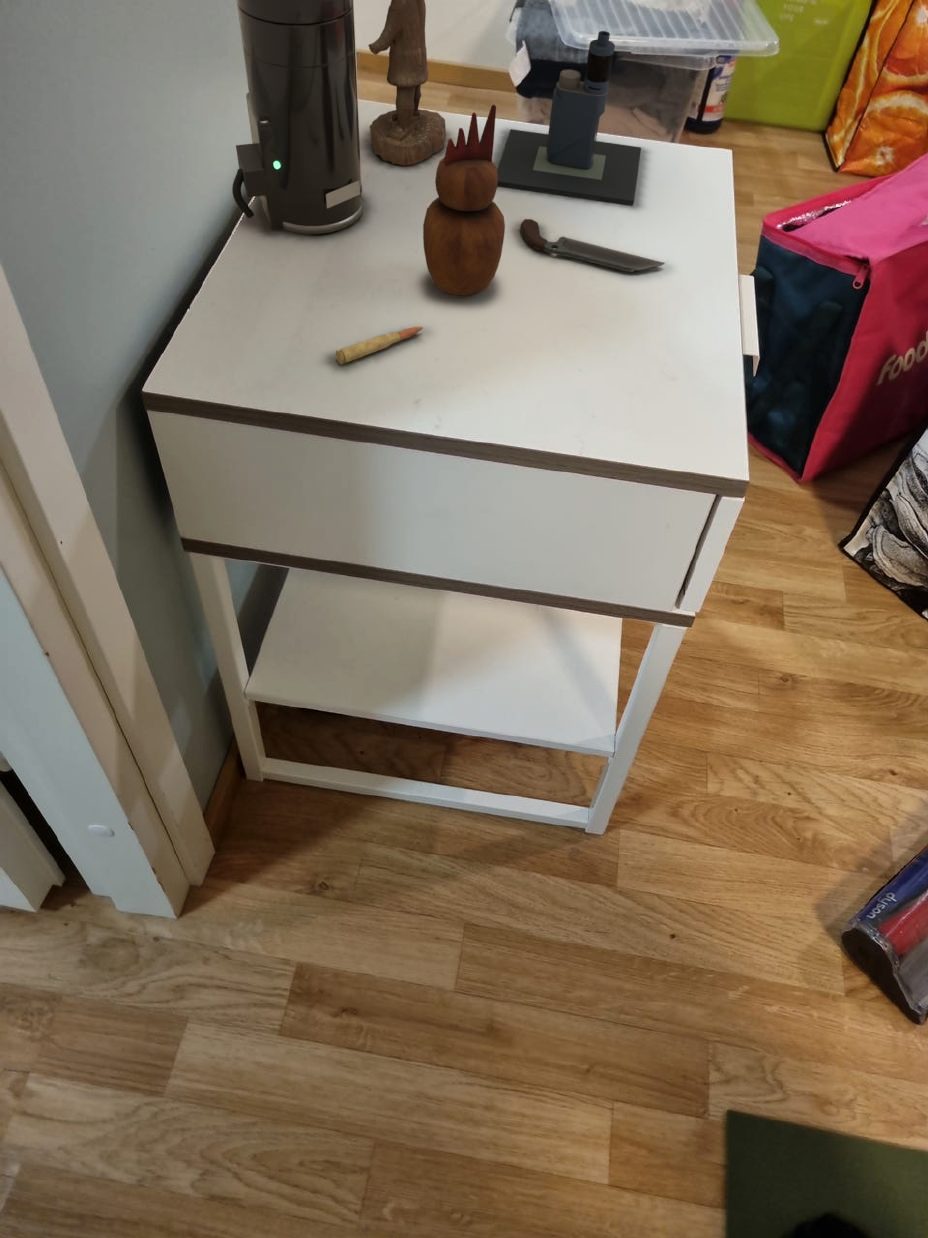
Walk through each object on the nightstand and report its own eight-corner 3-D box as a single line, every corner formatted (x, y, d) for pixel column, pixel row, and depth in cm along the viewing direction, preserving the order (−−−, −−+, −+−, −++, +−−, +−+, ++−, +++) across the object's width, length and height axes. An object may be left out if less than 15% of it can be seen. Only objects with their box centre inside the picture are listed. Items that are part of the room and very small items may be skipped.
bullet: (335, 358, 73) (341, 367, 73) (335, 348, 72) (341, 356, 72) (418, 328, 76) (426, 336, 76) (419, 318, 75) (426, 326, 75)
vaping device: (593, 171, 92) (615, 40, 82) (542, 162, 92) (558, 31, 83) (597, 159, 93) (619, 29, 84) (547, 150, 94) (564, 20, 84)
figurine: (380, 120, 97) (374, -111, 81) (450, 129, 97) (458, -102, 81) (362, 161, 92) (352, -78, 76) (435, 170, 92) (441, -68, 75)
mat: (493, 185, 90) (493, 179, 90) (510, 133, 97) (510, 128, 96) (633, 205, 89) (634, 199, 89) (640, 151, 96) (641, 146, 96)
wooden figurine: (501, 269, 82) (517, 93, 70) (496, 307, 78) (512, 129, 66) (427, 262, 82) (430, 85, 70) (418, 299, 78) (420, 120, 66)
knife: (510, 244, 84) (511, 237, 83) (524, 223, 86) (525, 216, 86) (656, 282, 82) (658, 275, 81) (667, 259, 84) (668, 252, 83)
